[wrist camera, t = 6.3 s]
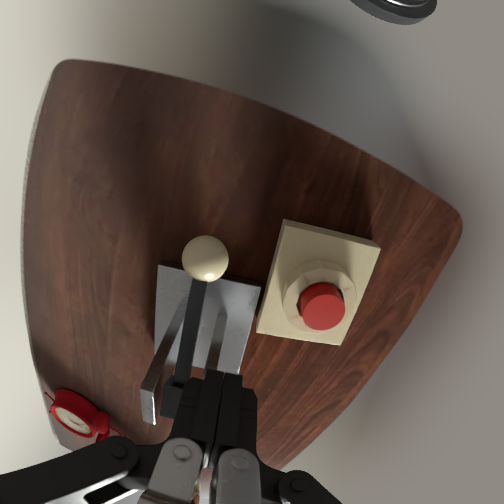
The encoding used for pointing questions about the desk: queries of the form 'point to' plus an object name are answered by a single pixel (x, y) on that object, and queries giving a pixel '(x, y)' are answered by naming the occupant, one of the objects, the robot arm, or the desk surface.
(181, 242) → the desk surface
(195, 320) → the lever
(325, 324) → the button
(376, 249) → the control block
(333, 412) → the desk surface
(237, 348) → the bracket
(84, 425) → the alarm clock
